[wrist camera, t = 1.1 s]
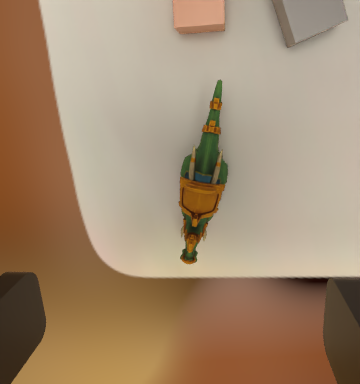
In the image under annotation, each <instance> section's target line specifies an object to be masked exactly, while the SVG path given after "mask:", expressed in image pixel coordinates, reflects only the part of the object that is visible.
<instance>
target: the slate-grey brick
mask: <svg viewBox="0 0 360 384" xmlns="http://www.w3.org/2000/svg"><path fill="white" fill-rule="evenodd" d="M272 1H273V4H274V7H275V10H276V14H277V17H278V20H279V23H280V26H281V29H282V32H283V35H284V39H285V42H286V45H287V48H288V47H291V46H293V45H295V44H297V43H300V42H302V41H304V40H306V39H309V38H311V37H313V36H315V35H318V34H320V33H322V32H324V31H327V30H329V29H331V28H333V27H335V26H337V25H339V24H341V23H343V22H345V21H347V20H348V17H347V14H346V10H345V6H344V3H343V0H272Z"/></svg>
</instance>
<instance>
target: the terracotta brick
mask: <svg viewBox="0 0 360 384" xmlns="http://www.w3.org/2000/svg"><path fill="white" fill-rule="evenodd" d="M173 13H174V28H175V29H176V30H177V31H178V32H179V33H180V34H188V33H201V32H214V31H225V14H224V0H173Z"/></svg>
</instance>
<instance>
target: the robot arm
mask: <svg viewBox="0 0 360 384" xmlns="http://www.w3.org/2000/svg"><path fill="white" fill-rule="evenodd" d="M45 327H46V317H45V312H44V307H43V302H42V297H41V292H40V287H39V282H38V278H37V276H36V275H35V274H34V273H31V272H5V273H3V274H2V275H1V276H0V384H11V383H12V381H13V380H14V378H15V377H16V376H17V374H18V373H19V371H20V370H21V368H22V367H23V365H24V364H25V363H26V361H27V360H28V359H29V357H30V356H31V354H32V353H33V352H34V350H35V349H36V347H37V346H38V344H39V343H40V342H41V340H42V338H43V335H44V332H45ZM323 338H324V346H325V350H326V354H327V357H328V360H329V362H330V365H331V368H332V370H333V373H334V376H335V378H336V381H337V384H360V279H352V278H330V279H329V280H328V283H327V289H326V302H325V313H324V326H323Z"/></svg>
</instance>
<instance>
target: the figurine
mask: <svg viewBox="0 0 360 384" xmlns="http://www.w3.org/2000/svg"><path fill="white" fill-rule="evenodd" d="M221 96H222V81H221V80H218V82H217V85H216V88H215V91H214V95H213V99H212V101H210V108H211V109H210V112H209V116H208V119H207V122H206V125H204V126H203V129H202V132H203V134H202V138H201V142H200V145H199V147H198V149H195V146H194V147H193V152H192V154H191V155H189V156H187V157H185V159H184V162H183V165H182V169H181V177H180V201H179V206H180V207H181V208H182V214H183V216H184V219H183V221H184V226H183V227H182V230H181V237H182V235H183V233H184V234H185V235H184V237H185V241H186V248H185V249H183V251H182V252H183V254H182V255H181V257H180V259H181V260H182V261H183V262H184V263H186V264H193V263H195V262H197V257H196V256H197V254H198V253H197V251H196V250H195V249H196V247H197V244H198V243H199V242H200V240H201V238H202V237H203V240H205V238H206V227H207V225H208V223H207V222H208V221H209V220H210V219H211V218H212V217H213V214H214V213H216V212H217V210H218V208H217V207H218V204H219V201H220V199H221V195H222V191H224V188H225V183H226V182H227V174H228V165H227V164H226V163H225V161H224V160H223V159H222V151H223V149H222V151H221V152H220V153H219V151H218V140H219V134H221V130H220V128H219V114H220V110H221V106H222V102H221Z"/></svg>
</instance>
